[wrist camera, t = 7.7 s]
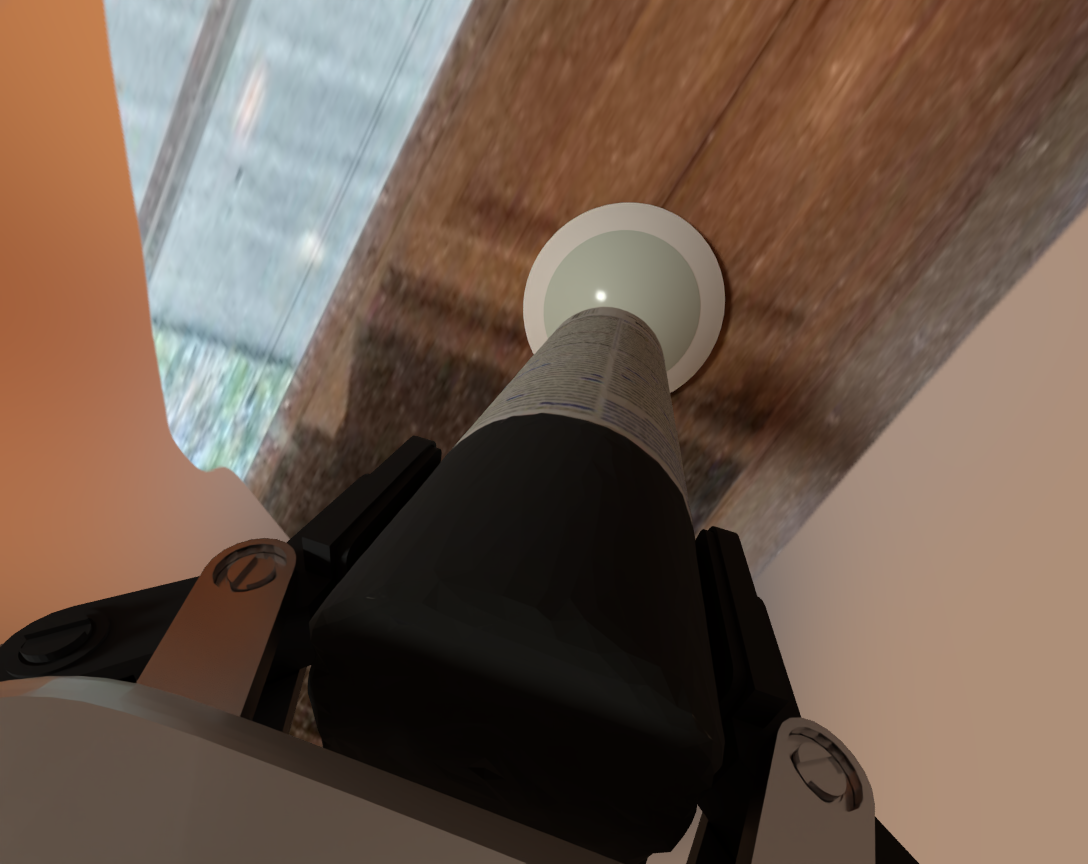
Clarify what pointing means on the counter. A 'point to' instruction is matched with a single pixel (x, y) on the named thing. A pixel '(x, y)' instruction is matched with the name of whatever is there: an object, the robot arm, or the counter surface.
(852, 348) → the counter surface
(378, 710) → the spray can
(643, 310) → the dish
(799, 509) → the counter surface
